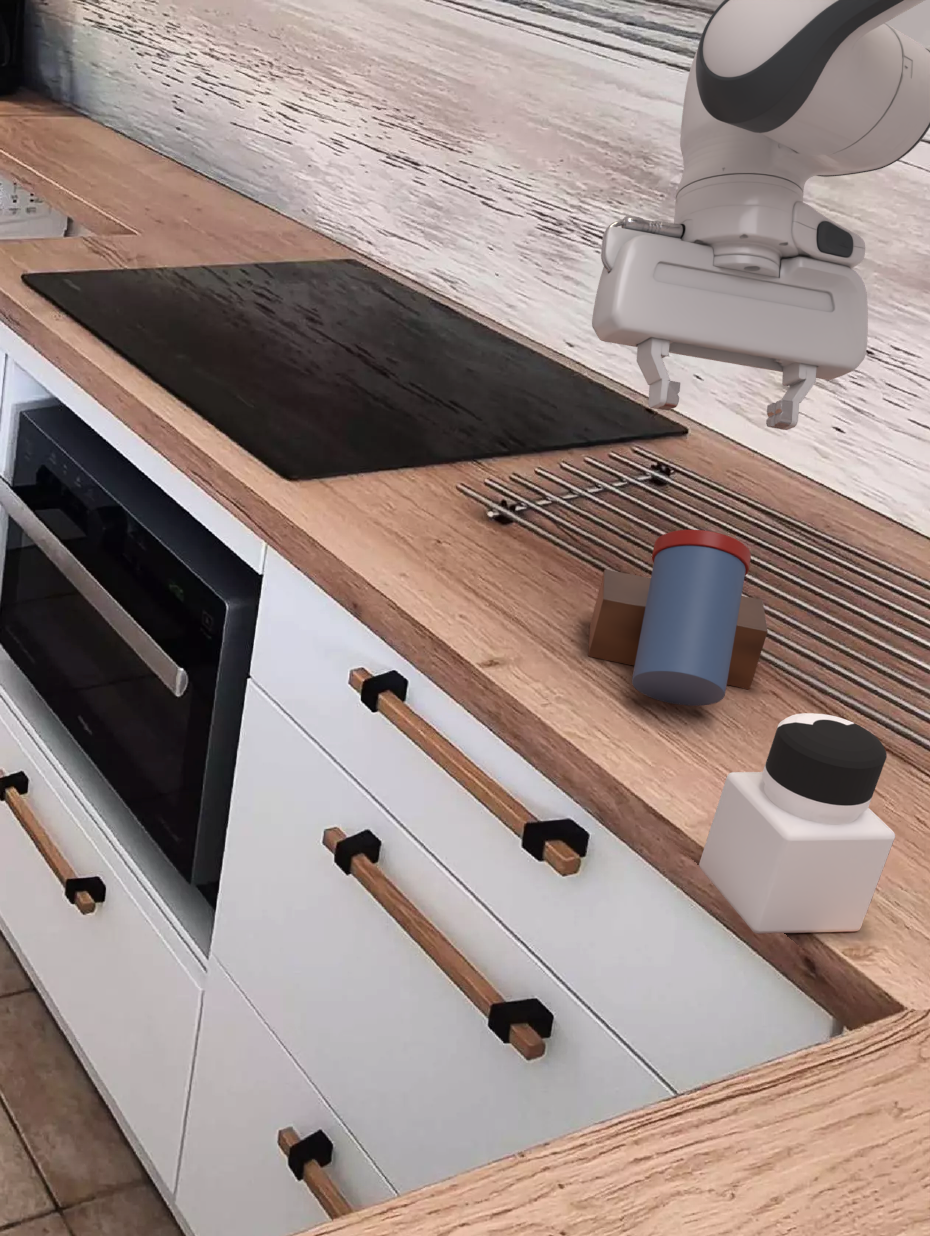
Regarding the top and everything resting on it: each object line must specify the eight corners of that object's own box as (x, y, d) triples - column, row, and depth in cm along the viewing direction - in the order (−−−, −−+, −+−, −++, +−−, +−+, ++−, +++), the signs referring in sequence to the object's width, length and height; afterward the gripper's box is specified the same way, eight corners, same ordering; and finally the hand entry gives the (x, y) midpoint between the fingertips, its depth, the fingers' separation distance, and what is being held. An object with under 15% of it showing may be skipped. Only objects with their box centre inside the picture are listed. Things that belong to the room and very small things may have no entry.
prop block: (745, 656, 137) (763, 599, 134) (749, 689, 132) (768, 631, 129) (589, 625, 139) (604, 568, 137) (588, 656, 134) (603, 598, 132)
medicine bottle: (862, 933, 104) (927, 762, 98) (753, 936, 102) (812, 762, 97) (798, 865, 110) (856, 700, 104) (695, 866, 109) (748, 700, 103)
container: (712, 668, 135) (756, 518, 129) (719, 739, 124) (768, 579, 118) (622, 650, 136) (662, 501, 131) (621, 719, 125) (665, 560, 120)
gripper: (626, 196, 123) (611, 384, 122) (886, 244, 127) (874, 428, 125) (584, 226, 130) (569, 406, 128) (833, 271, 133) (821, 447, 131)
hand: (722, 417), depth 127 cm, fingers open, 8 cm apart
